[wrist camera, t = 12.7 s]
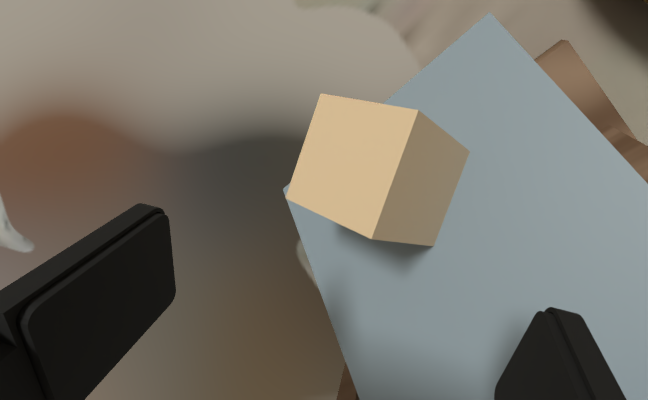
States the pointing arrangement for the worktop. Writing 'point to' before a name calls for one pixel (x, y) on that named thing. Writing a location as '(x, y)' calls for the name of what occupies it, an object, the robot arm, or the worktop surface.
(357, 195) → the tan block
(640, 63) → the worktop surface
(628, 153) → the stand
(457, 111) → the trapdoor
